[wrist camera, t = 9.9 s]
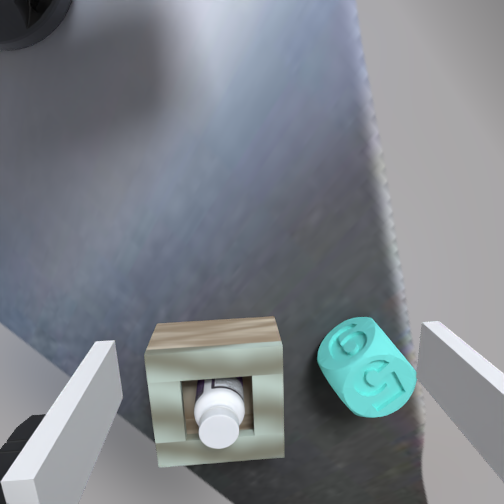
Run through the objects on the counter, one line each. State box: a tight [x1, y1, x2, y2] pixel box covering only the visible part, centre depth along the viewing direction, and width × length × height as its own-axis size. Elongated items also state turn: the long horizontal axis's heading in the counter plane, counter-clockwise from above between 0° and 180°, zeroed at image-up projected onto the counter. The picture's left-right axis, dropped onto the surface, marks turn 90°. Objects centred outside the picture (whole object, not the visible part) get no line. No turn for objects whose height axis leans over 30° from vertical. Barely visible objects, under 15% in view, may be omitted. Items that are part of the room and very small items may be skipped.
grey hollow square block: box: [144, 316, 284, 468], centre depth 42 cm, size 14×14×7 cm
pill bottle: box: [194, 377, 245, 449], centre depth 40 cm, size 5×5×10 cm
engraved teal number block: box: [317, 317, 417, 418], centre depth 42 cm, size 8×8×8 cm
